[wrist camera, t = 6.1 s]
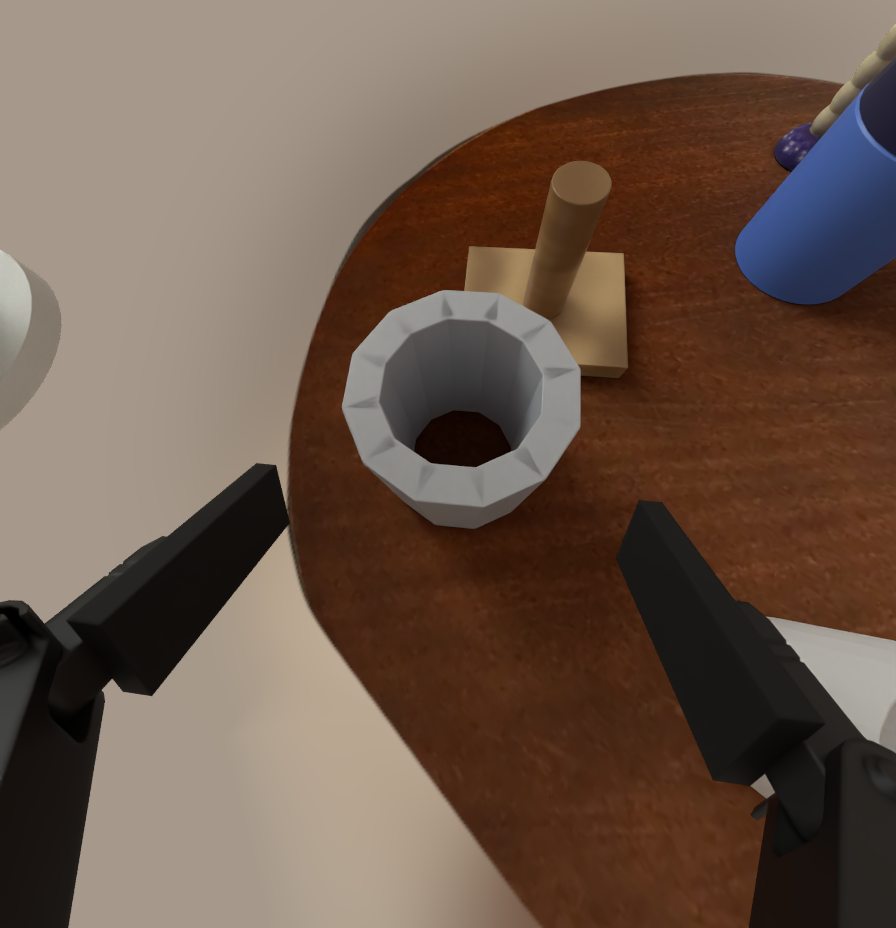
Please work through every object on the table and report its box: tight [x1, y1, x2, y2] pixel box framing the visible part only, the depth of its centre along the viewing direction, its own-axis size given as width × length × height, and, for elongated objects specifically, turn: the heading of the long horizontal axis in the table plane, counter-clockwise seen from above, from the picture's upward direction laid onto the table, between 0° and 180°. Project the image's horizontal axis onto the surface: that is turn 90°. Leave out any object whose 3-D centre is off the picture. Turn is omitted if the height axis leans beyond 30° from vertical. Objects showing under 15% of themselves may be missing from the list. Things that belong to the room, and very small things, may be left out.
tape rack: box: [464, 161, 628, 378], centre depth 22 cm, size 12×10×10 cm
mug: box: [751, 617, 896, 799], centre depth 15 cm, size 12×9×9 cm
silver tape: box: [342, 290, 581, 529], centre depth 19 cm, size 10×10×10 cm
